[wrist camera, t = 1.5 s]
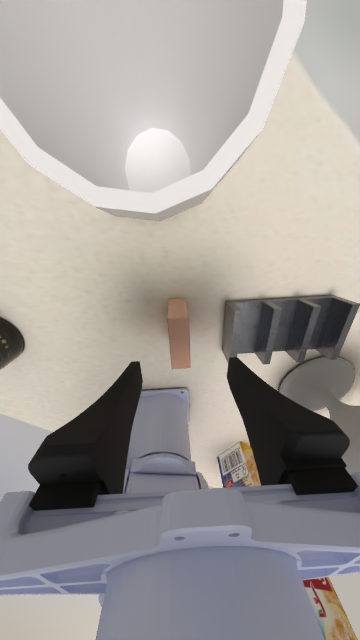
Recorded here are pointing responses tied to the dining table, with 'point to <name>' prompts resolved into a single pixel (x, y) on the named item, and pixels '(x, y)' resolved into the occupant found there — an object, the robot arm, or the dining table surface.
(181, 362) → the tan wooden block
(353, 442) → the chalice
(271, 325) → the dish rack
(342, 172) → the dining table surface
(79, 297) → the dining table surface
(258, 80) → the foam cup
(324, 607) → the beverage box
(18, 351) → the supplement bottle
